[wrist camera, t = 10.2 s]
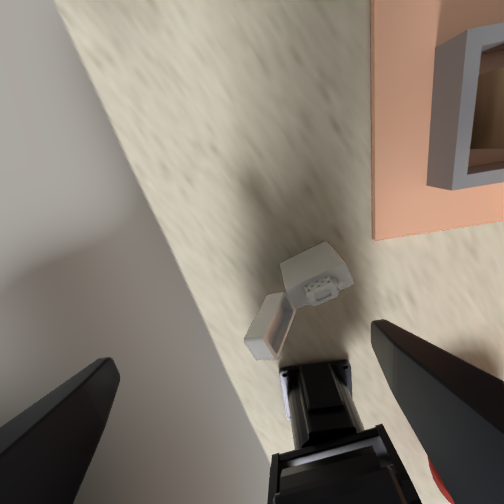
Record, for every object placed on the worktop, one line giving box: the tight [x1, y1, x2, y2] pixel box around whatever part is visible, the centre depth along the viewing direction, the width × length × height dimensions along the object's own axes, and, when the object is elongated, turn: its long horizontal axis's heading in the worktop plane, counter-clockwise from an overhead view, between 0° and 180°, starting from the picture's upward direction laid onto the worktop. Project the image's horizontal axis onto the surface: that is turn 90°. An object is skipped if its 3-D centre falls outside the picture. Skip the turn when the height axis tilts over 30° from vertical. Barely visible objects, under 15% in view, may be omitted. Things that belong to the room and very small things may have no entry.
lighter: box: [244, 241, 354, 360], centre depth 17 cm, size 7×2×8 cm, turn 118°
